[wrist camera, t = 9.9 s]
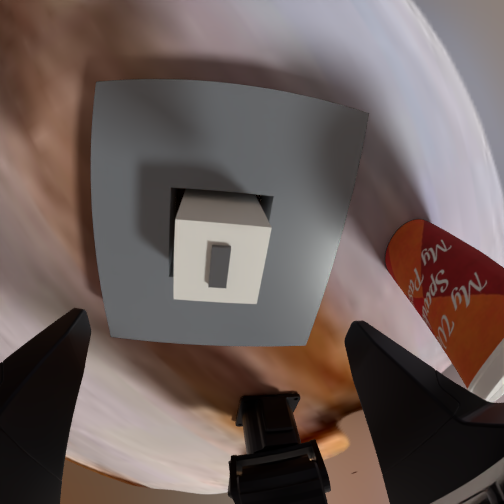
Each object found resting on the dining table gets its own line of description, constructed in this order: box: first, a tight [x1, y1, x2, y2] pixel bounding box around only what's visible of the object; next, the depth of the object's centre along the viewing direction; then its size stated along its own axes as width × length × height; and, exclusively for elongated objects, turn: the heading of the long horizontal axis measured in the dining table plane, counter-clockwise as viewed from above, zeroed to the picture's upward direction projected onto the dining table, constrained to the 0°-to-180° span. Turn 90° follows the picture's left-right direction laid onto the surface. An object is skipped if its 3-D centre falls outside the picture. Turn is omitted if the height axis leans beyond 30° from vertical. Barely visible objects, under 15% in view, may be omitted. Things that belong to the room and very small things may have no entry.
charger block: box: [173, 188, 272, 304], centre depth 15 cm, size 4×4×6 cm
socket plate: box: [91, 79, 369, 346], centre depth 16 cm, size 16×14×3 cm
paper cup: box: [385, 219, 504, 403], centre depth 15 cm, size 8×8×14 cm
